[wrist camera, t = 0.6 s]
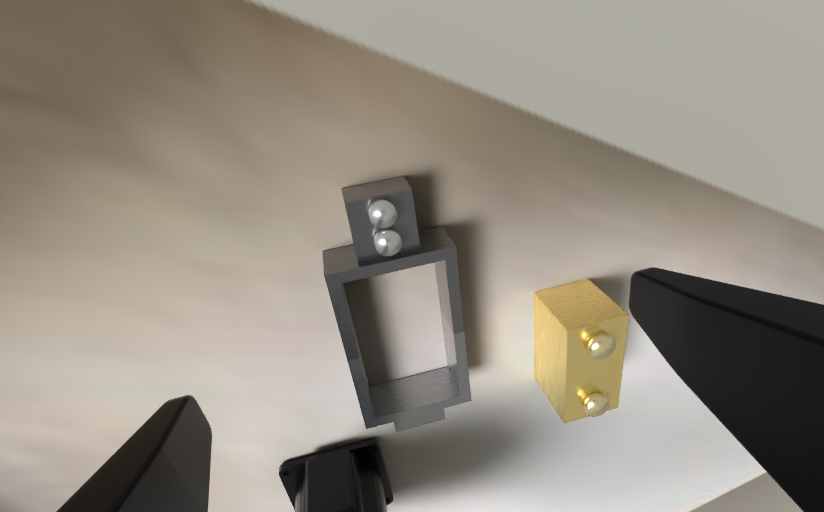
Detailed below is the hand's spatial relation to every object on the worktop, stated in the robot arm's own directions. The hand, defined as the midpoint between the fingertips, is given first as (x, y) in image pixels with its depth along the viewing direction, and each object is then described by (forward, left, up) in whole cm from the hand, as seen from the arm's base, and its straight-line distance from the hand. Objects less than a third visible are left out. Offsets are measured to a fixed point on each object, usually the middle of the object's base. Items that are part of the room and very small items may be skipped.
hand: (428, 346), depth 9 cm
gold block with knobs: (-13, -11, -13) cm, 21 cm away
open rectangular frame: (-9, -1, -13) cm, 16 cm away
